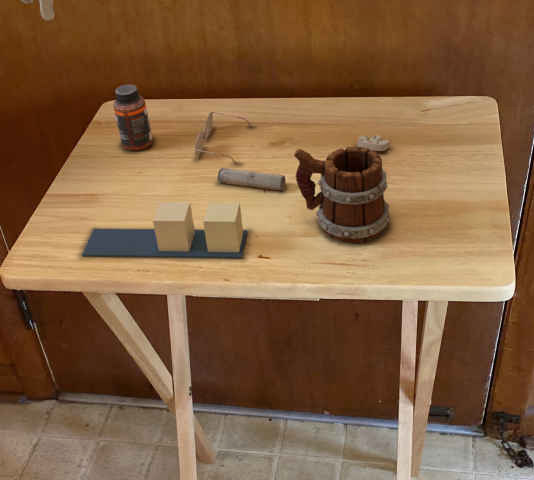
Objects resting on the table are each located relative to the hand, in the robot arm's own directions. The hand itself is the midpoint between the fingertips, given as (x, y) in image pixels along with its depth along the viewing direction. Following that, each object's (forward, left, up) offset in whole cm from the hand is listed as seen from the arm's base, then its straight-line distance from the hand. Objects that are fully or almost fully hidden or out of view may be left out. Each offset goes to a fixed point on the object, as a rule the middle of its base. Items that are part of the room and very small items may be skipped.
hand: (38, 10), depth 136 cm
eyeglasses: (+24, -15, -28) cm, 40 cm away
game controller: (+42, -35, -28) cm, 61 cm away
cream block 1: (+3, -37, -27) cm, 46 cm away
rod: (+21, -30, -28) cm, 46 cm away
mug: (+27, -49, -28) cm, 62 cm away
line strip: (+1, -36, -28) cm, 45 cm away
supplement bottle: (+11, -4, -28) cm, 30 cm away
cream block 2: (+9, -42, -27) cm, 51 cm away
